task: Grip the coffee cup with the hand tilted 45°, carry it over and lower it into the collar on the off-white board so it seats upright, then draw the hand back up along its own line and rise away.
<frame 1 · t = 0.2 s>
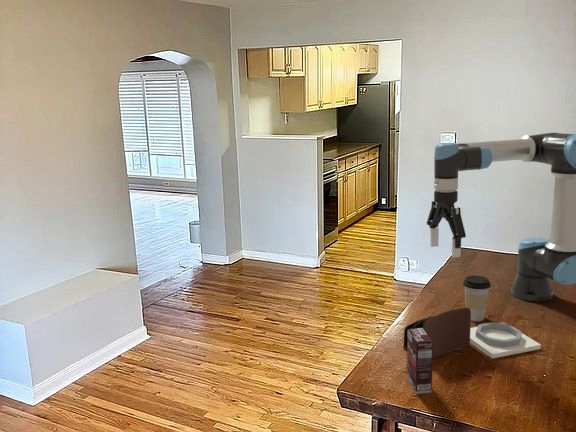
hand: (444, 251, 180), 28 cm above the table, tool pointing down, fingers open, 13 cm apart
letter holder: (436, 347, 172), on the table
supplement box: (418, 386, 150), on the table
dock board: (498, 341, 175), on the table
coffee cup: (475, 318, 192), on the table
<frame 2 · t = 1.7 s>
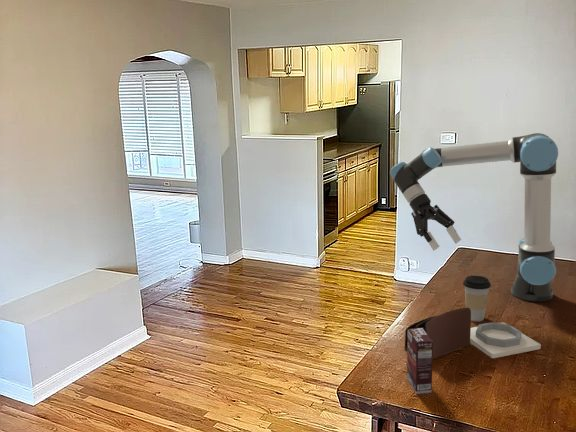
hand: (447, 245, 195), 25 cm above the table, tool tilted 45°, fingers open, 13 cm apart
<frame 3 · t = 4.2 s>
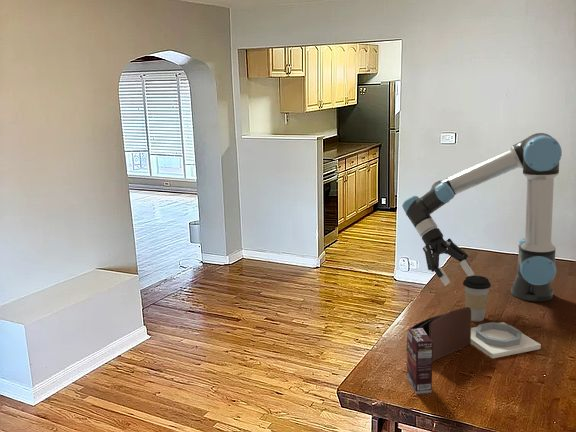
hand: (460, 280, 194), 13 cm above the table, tool tilted 45°, fingers open, 13 cm apart
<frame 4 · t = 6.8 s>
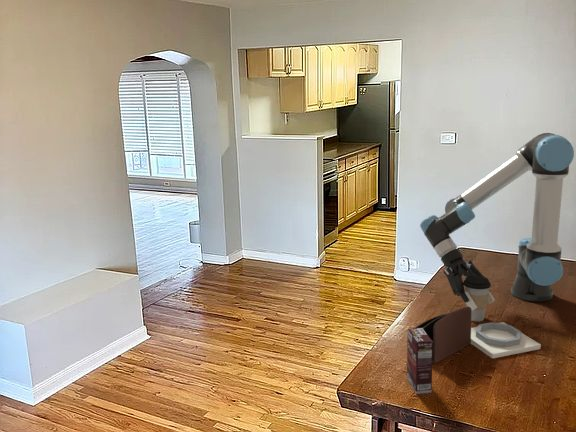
hand: (483, 305, 189), 6 cm above the table, tool tilted 45°, fingers closed on coffee cup, 9 cm apart
coffee cup: (475, 318, 192), on the table, touching gripper
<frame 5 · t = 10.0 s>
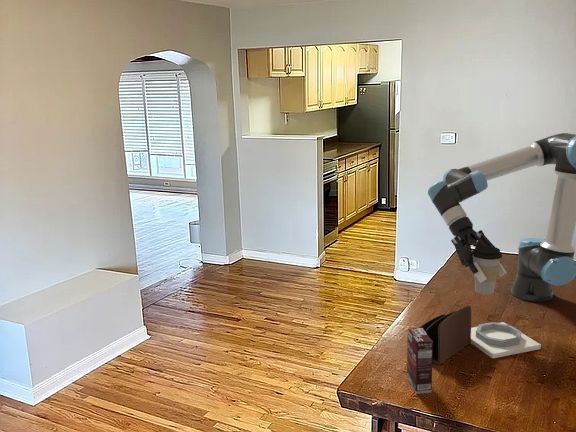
hand: (493, 277, 174), 21 cm above the table, tool tilted 45°, fingers closed on coffee cup, 9 cm apart
coffee cup: (484, 292, 178), point 15 cm above the table, touching gripper
when the fingers open (8 cm above the table, at t = 13.5 s): coffee cup stays where it is, resting on dock board.
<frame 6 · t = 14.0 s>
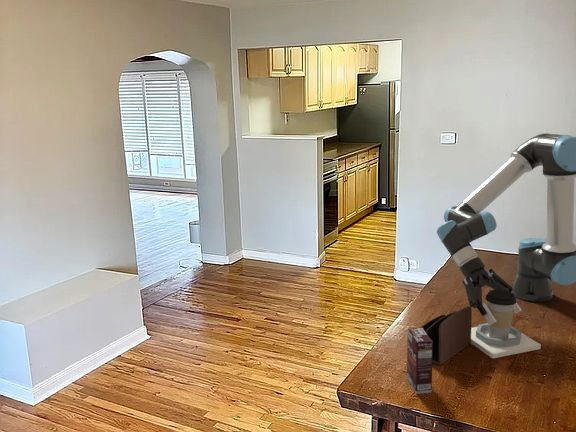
hand: (506, 317, 171), 9 cm above the table, tool tilted 45°, fingers open, 13 cm apart
coffee cup: (498, 337, 174), point 1 cm above the table, touching dock board
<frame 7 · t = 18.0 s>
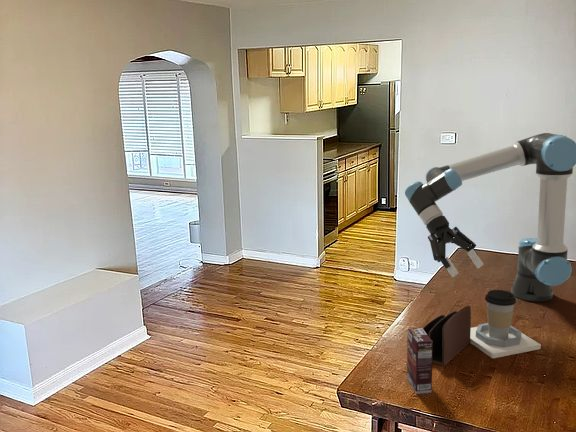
hand: (468, 271, 180), 21 cm above the table, tool tilted 45°, fingers open, 13 cm apart
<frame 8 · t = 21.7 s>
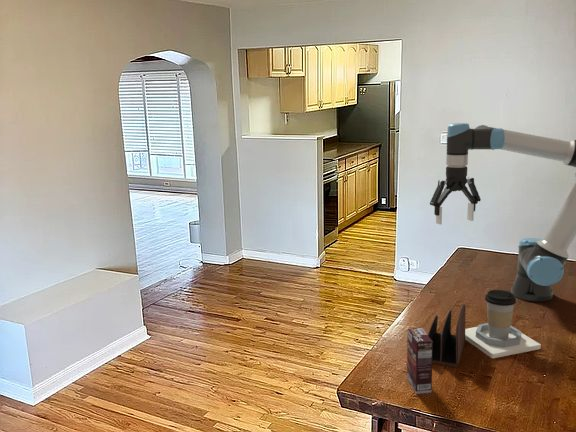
hand: (454, 222, 199), 33 cm above the table, tool pointing down, fingers open, 13 cm apart
at the end: coffee cup 0.1 cm off-centre on the dock board, point 1.3 cm above the dock board's base; coffee cup tilted 0°; the gripper is holding nothing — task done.
